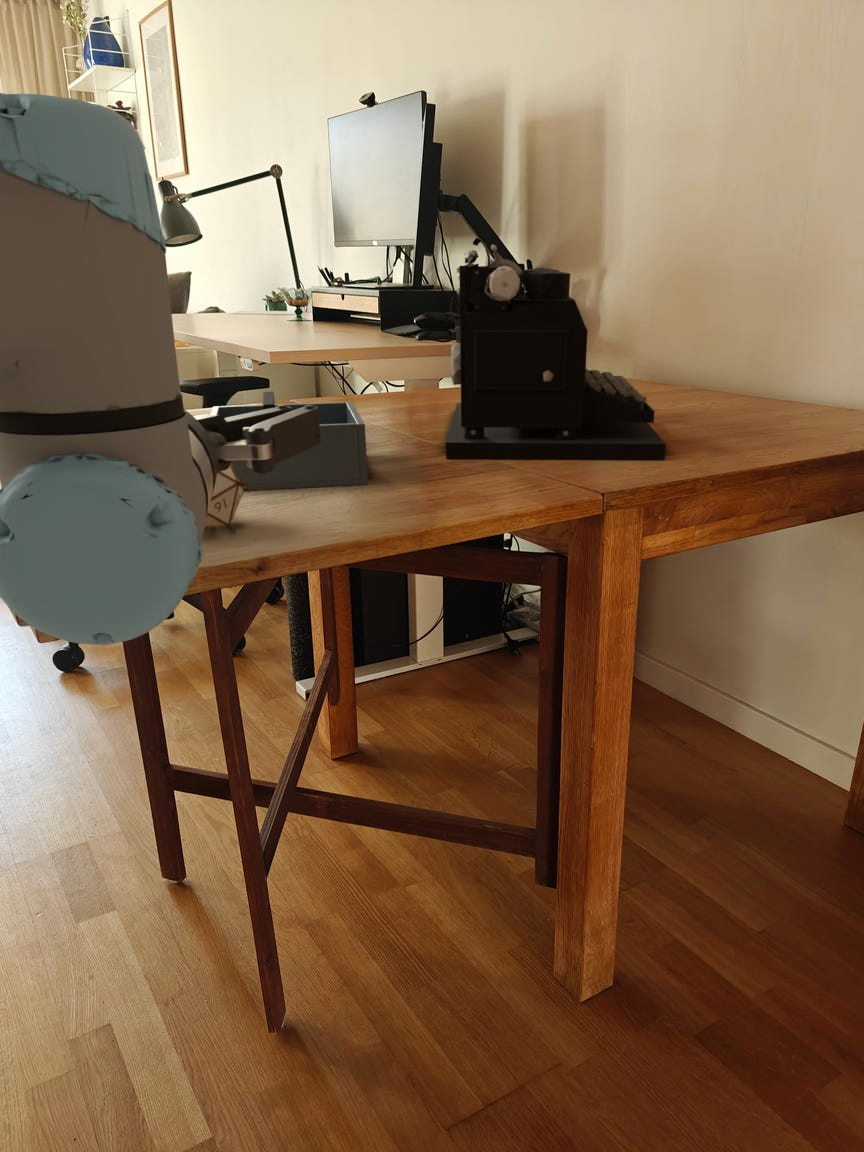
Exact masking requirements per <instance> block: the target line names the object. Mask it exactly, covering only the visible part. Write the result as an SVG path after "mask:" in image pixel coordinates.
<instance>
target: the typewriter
mask: <svg viewBox="0 0 864 1152" xmlns="http://www.w3.org/2000/svg"><path fill="white" fill-rule="evenodd" d="M481 242H483V247H484V251H485V253H486V258H485V265H483V266H482V265H479V263H476V261H477V259H478V258H479V254H478V251H477V250H474V249H472V250H471V249H469V251H467V252H465V253H464V256H466V255H467V257H464V265H459V266H458V267H457V268H456V274H459V275H458V277H457V279H458V282H459V288H457V289H456V294H457V295H459V325H456V326H455V327H454V331H455V342H454V343H453V344H452V345H451V349H450V377H451V382H452V385H453V386H455V385H456V386H457V385H460V402H457V403H456V406H455V409H454V413H453V416H452V420H451V422H450V426H449V429H448V434H447V436H446V437H447V438H446V441H445V459H447V460H448V459H449V460H450V459H451V460H453V459H454V460H568V461H569V460H571V461H572V460H575V461H577V460H579V461H580V460H581V461H582V460H584V461H586V460H587V461H588V460H589V461H665V459H666V450H667V449H666V448H667V443H666V442H665V440H663V439H662V437H660V435H659V434H658V433H657V432H656V431H655V429H653V427H652V426H651V425H650V424H653V423H654V422H655V410H654V409H653V408H652V407H651V406H650V405H649V403H647V401H648V397H647V396H643V395H642V393H640V391H638V390H637V389H635V387H634V385H632V384H631V382H630V383H629V381H628V380H627V379H626V378H625V377H624V376H623V375H614V374H613V373H612V372H609V371H603V372H601V371H600V370H598V369H590V370H589V369H588V368H587V349H588V328H587V326H586V323H585V322H584V319H583V317H582V314H581V312H580V309H579V307H578V304H577V302H576V299H574V298H572V297H570V286H571V285H570V284H571V273H570V272H565V271H560V270H559V269H553V268H548V267H535V268H529V269H523V270H522V269H521V267H520V266H519V265H518V264H517V263H516V262H514V261H513V260H511V259H505V258H503V257H502V255H500V254H499V252H498V251H497V250H498V247H497V245H496V244H491V245H490V251H493V253H492V256H493V257H494V258H493V257H491V254H490V252H489V248H488V245H487V243H486V242H485V241H483V240H482V239H480V238H479V237H475V239H474V240H473V242H472V245H473V246H476V247H479V244H480V243H481ZM519 275H522V283H521V278H520V277H519Z"/></svg>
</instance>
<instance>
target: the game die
mask: <svg viewBox="0 0 864 1152" xmlns="http://www.w3.org/2000/svg"><path fill="white" fill-rule="evenodd" d="M245 484H246V481H244V480H243V479H242V480H240V479H239V477H238V475H237V473H236V471H235V469H234V467H233V465H232V463H230V466H229V468H228V469H226V470H223V471H220V472H217V478H216V482H215V487H214V491H213V495H212V498H211V501H210V505H209V509H208V514H207V518H206V522H205V527H204V528H219V527H220V528H221V527H227V528H228V530H229V532H230V533H233V534H236V528H235V526H234V525H232V522H233V519H234V517H235V514H236V511H237V510H238V507H239V504H240V502H241V500H242V497H243V495H244V492H245V493H250V492H252V491H254V490H253V489H251V488H250V487H249V486H248V487H246V486H245V487H244V486H243V485H245Z"/></svg>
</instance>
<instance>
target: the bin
mask: <svg viewBox="0 0 864 1152" xmlns="http://www.w3.org/2000/svg"><path fill="white" fill-rule="evenodd" d="M279 405H286V406H289V407H291V408H292V411H293V410H296V409H299V408H302V407H306V405H313V406H316V407H318V412H319V425H320V438H321V443H320V444H318V445H316V446H314V447H312V448H309V449H307V450H305V451H303V452H301V453H299V454H297V455H295V456H292V457H290V458H288V459H286V460H284V461H282V462H280V463H278V464H276V465H275V467H274V469H273V471H270V472H267V473H265V474H260V473H256V472H253V468H248V467H247V465H246V460H232V461H231V463H232V465H233V467H234V469H235V471H236V473H237V475H238V477H239V479H240V480H242V479H243V480H244V481H246V484H245V485H243V486H244V487H245V486H246V487H248V486H249V487H250V488H251V489H253V490H252V491H266V490H283V489H285V490H286V489H304V488H325V487H344V486H345V487H346V486H361V485H362V486H363V485H369V479H368V478H369V477H368V459H367V457H368V456H367V438H366V437H367V436H366V424H365V422H364V420H363V418H362V417H361V415H360V413H359V412H358V410H357V409H356V406H355V405H354V403H353V401H337V402H334V401H332V402H305V403H301V402H300V403H275V407H278V406H279ZM260 410H264V409H263V404H246V405H245V404H243V405H216V406H215V405H214V406H212V408H211V411H210V414H211V415H221V416H223V417H224V418H227V417H232V416H236V415H241V414H246V413H250V412H255V411H260Z"/></svg>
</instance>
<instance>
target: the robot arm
mask: <svg viewBox="0 0 864 1152" xmlns="http://www.w3.org/2000/svg"><path fill="white" fill-rule="evenodd" d="M147 160H148V159H147V155H146V151H145V146H144V145H143V141H142V140H141V136H140V135H139V132H137V130H136V128H135V127H134V125H133V124H132V123H131V122H130V121H129V120H128V119H127V117H124V116H122V115H121V114H120V113H119V112H117V111H115V110H114V109H112V108H109V107H108V106H105V105H101V104H99V103H95V102H92V101H86V100H81V99H76V98H70V97H63V96H57V95H48V94H40V93H3V92H0V486H1V488H0V598H1V600H2V601H3V603H4V604H5V605H6V606H7V608H9V609H10V610H11V611H12V613H14V614H15V615H16V616H17V617H18V618H19V619H21V620H22V621H24V622H25V623H26V624H27V625H29V626H30V627H32V628H34V629H35V630H37V631H38V632H40V633H43V634H45V635H47V636H50V637H52V638H55V639H59V640H62V641H65V642H68V643H74V644H79V645H91V646H92V645H94V646H95V645H98V646H108V645H113V644H118V643H123V642H127V641H131V640H133V639H137V638H139V637H140V636H143V635H145V634H147V633H149V632H150V631H152V630H154V629H155V628H157V627H159V626H160V625H161V624H162V623H163V622H164V621H166V620H167V619H168V618H169V617H170V616H171V614H173V612H174V611H175V610H176V609H177V608H178V606H179V604H180V603H181V602H182V600H183V598H184V596H185V594H186V592H187V591H188V590H189V585H191V584H193V582H194V579H195V577H196V575H197V574H198V572H199V564H200V563H201V561H202V560H203V559H202V558H203V550H202V541H203V538H204V537H203V535H204V531H205V528H206V527H205V522H206V518H207V514H208V509H209V505H210V501H211V498H212V495H213V491H214V487H215V482H216V478H217V472H220V471H223V470H226V469H228V468H229V466H230V463H231V461H232V460H246V465H247V467H248V468H253V472H256V473H260V474H265V473H267V472H270V471H273V469H274V467H275V465H276V464H278V463H280V462H282V461H284V460H286V459H288V458H290V457H292V456H295V455H297V454H299V453H301V452H303V451H305V450H307V449H309V448H312V447H314V446H316V445H318V444H320V443H321V438H320V425H319V412H318V407H316V406H313V405H306V407H302V408H299V409H296V410H293V411H292V408H291V407H289V406H286V405H279V406H278V407H275V404H276V401H275V392H274V391H263V395H262V405H263V409H264V410H260V411H255V412H250V413H246V414H241V415H236V416H232V417H227V418H224V417H223V416H221V415H211V413H210V414H209V413H202V414H197V415H193V414H191V413H190V412H189V411H187V410H186V409H185V407H184V401H183V393H182V392H181V385H180V375H179V368H178V360H177V352H176V351H177V350H176V343H175V333H174V324H173V322H174V321H173V315H172V313H173V312H172V305H171V303H172V302H171V296H170V286H169V275H168V267H167V257H166V254H167V246H166V243H165V241H166V238H165V236H164V235H163V230H162V223H161V218H160V214H159V209H158V204H157V198H156V193H155V188H154V183H153V177H152V175H151V173H150V168H149V164H148V161H147Z"/></svg>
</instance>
